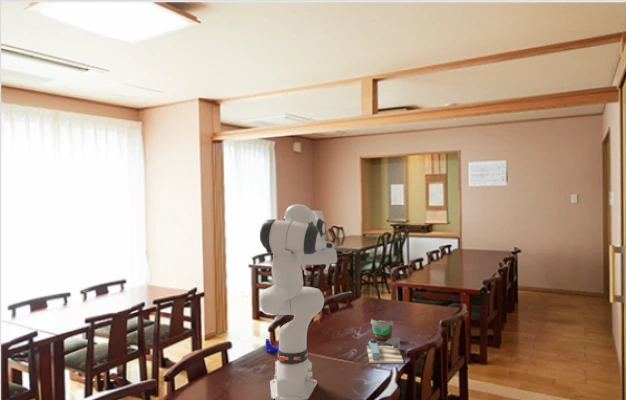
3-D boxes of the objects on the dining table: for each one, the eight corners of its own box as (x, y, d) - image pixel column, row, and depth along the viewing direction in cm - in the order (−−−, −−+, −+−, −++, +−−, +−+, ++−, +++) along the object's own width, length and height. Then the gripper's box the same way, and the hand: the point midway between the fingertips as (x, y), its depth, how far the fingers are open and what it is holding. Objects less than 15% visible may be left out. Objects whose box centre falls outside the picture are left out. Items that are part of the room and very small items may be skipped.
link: (368, 346, 216) (368, 340, 215) (377, 346, 215) (377, 340, 215) (371, 359, 198) (371, 353, 198) (381, 359, 198) (381, 353, 198)
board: (403, 363, 196) (403, 351, 196) (369, 363, 197) (369, 351, 197) (397, 347, 216) (397, 337, 216) (366, 347, 217) (366, 337, 217)
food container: (367, 340, 229) (367, 320, 229) (371, 336, 234) (371, 317, 234) (390, 343, 223) (390, 323, 223) (394, 339, 229) (393, 320, 229)
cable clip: (288, 347, 220) (288, 335, 220) (290, 350, 216) (290, 338, 216) (265, 350, 217) (265, 338, 217) (266, 353, 213) (266, 340, 213)
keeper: (384, 354, 207) (384, 342, 207) (393, 347, 216) (393, 336, 216) (392, 356, 205) (392, 344, 205) (401, 349, 214) (401, 337, 214)
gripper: (295, 246, 200) (295, 276, 200) (337, 244, 205) (338, 273, 205) (292, 244, 206) (292, 274, 206) (333, 242, 211) (334, 271, 211)
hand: (316, 274), depth 205 cm, fingers open, 8 cm apart
